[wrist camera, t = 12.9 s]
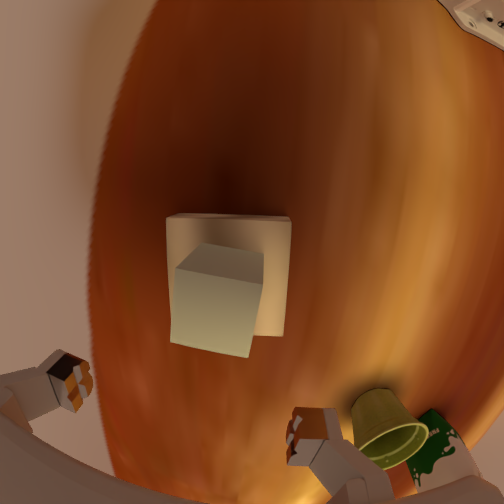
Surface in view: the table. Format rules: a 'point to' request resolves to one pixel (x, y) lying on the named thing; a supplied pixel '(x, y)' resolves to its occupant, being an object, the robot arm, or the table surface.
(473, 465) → the milk carton
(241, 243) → the birch block
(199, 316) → the sage block
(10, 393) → the robot arm
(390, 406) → the plant pot
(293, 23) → the table surface
